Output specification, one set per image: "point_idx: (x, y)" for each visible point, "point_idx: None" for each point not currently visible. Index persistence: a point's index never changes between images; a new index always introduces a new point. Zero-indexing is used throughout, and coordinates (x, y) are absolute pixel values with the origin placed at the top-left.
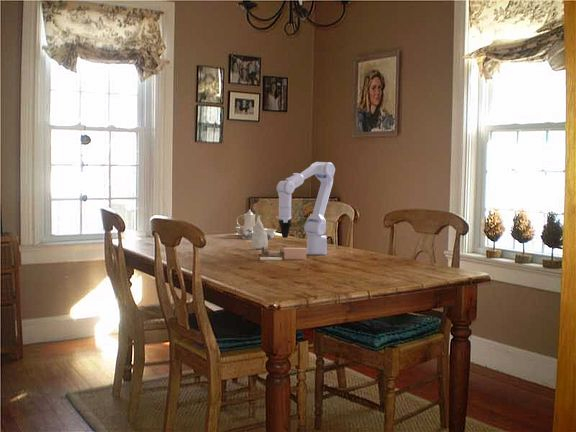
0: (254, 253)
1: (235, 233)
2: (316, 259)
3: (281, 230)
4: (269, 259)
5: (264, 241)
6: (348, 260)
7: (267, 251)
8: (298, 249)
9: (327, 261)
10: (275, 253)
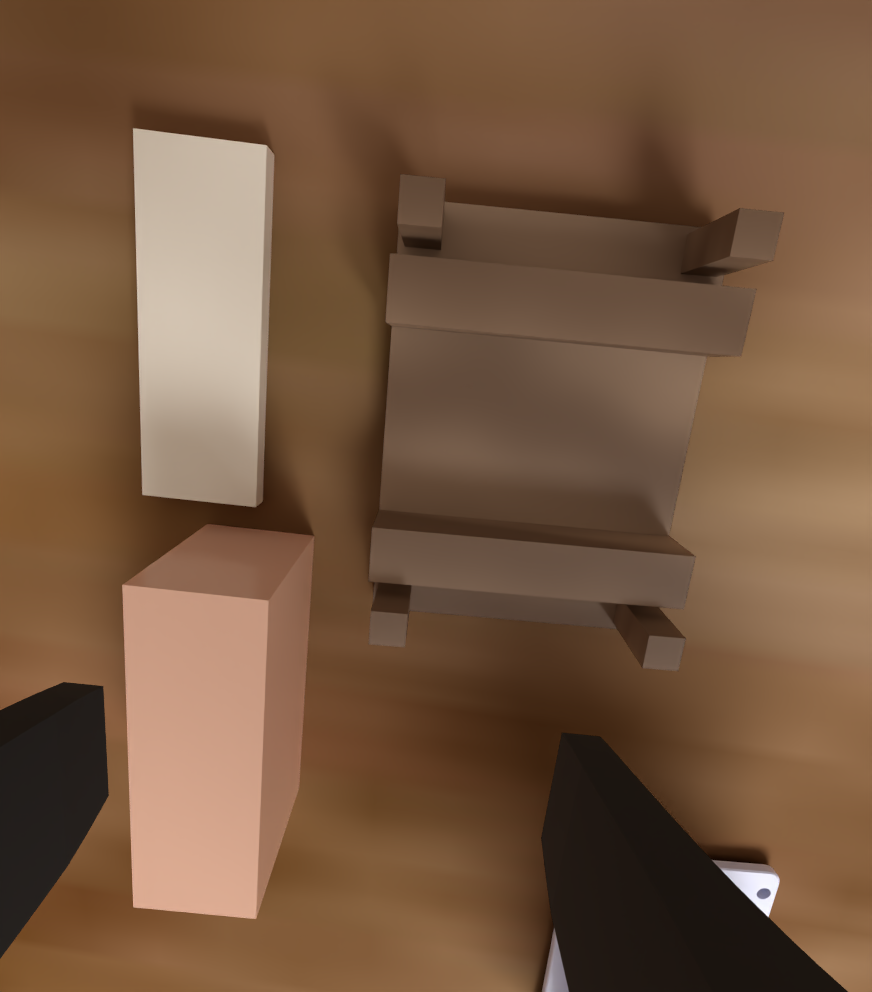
0: (839, 118)
1: None
2: None
3: (629, 854)
4: (147, 300)
5: None
6: None
7: (403, 291)
8: (136, 794)
9: (83, 949)
10: (597, 459)
